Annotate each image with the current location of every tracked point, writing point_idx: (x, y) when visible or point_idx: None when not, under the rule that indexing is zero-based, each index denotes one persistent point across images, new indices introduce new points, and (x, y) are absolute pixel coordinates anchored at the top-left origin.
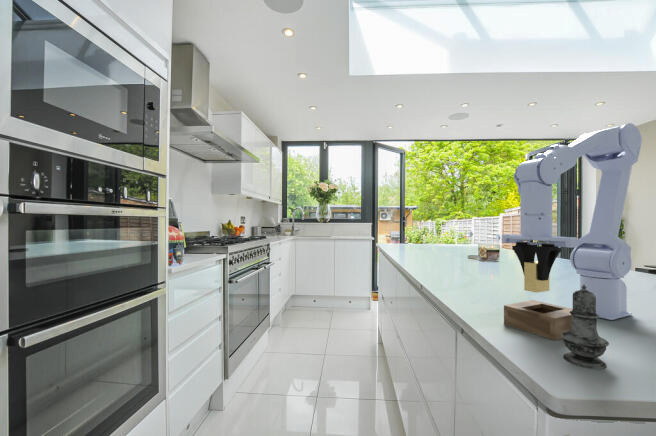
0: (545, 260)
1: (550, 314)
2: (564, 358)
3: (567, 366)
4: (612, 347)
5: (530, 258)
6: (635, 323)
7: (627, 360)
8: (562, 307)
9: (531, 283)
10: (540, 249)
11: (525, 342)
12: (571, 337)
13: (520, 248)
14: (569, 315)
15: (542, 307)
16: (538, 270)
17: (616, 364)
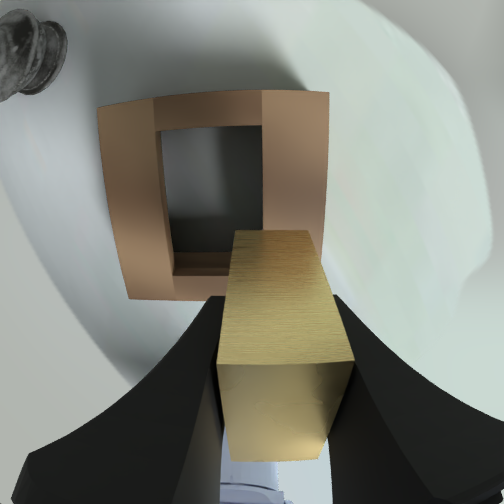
0: (122, 402)
1: (135, 143)
2: (57, 23)
3: (42, 3)
4: (59, 206)
5: (342, 446)
6: None
7: (14, 155)
8: (191, 290)
9: (265, 252)
10: (69, 493)
11: (159, 10)
12: (9, 18)
13: (444, 483)
14: (108, 205)
15: None
16: (217, 332)
17: (11, 111)
